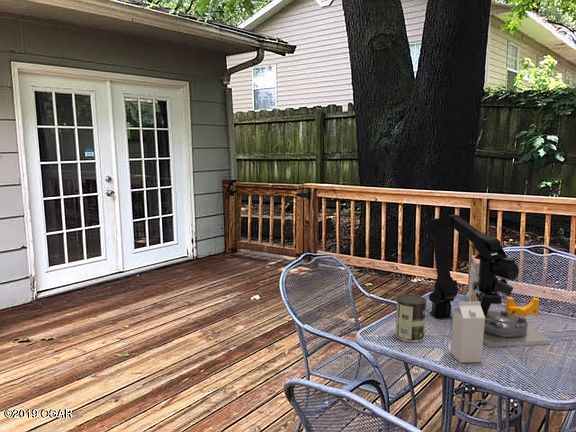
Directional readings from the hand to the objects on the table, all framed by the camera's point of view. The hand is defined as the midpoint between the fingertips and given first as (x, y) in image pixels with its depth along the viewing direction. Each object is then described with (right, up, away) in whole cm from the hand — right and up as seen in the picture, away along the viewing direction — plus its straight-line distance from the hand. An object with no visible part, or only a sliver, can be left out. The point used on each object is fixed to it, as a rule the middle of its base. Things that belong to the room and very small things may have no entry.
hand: (484, 315), depth 171 cm
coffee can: (-27, -8, 0) cm, 28 cm away
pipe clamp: (+25, -5, +23) cm, 34 cm away
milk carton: (-13, -11, -16) cm, 23 cm away
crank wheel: (+8, -5, +4) cm, 10 cm away
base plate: (+8, -7, +4) cm, 11 cm away
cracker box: (+9, -3, +30) cm, 32 cm away
